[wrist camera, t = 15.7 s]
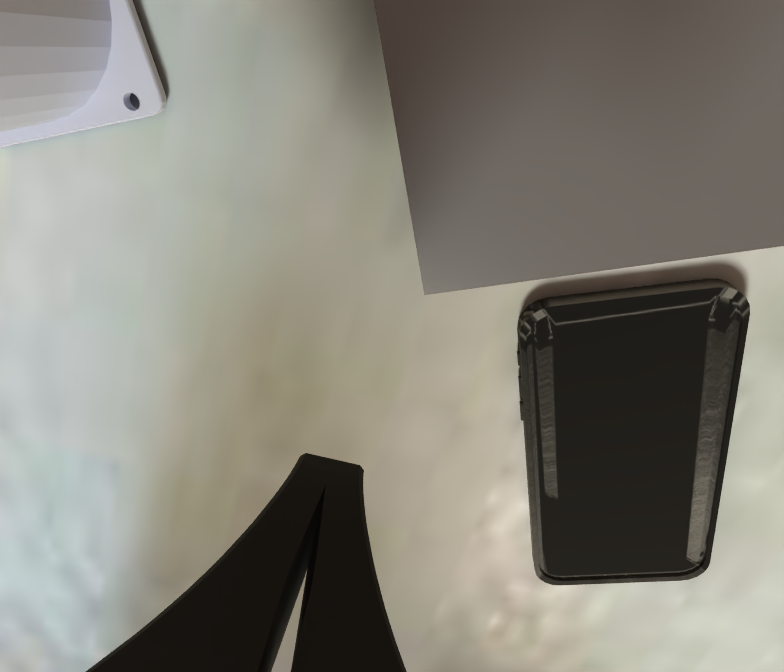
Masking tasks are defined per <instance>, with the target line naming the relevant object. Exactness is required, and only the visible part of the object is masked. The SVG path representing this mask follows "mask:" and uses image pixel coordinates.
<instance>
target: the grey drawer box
mask: <svg viewBox="0 0 784 672" xmlns="http://www.w3.org/2000/svg"><path fill="white" fill-rule="evenodd" d="M374 2H375V8H376V14H377V20H378V26H379V31H380V37H381V43H382V49H383V55H384V61H385V67H386V72H387V78H388V84H389V90H390V96H391V102H392V108H393V113H394V119H395V125H396V131H397V137H398V143H399V148H400V154H401V160H402V166H403V172H404V178H405V184H406V189H407V195H408V201H409V207H410V213H411V219H412V225H413V230H414V236H415V242H416V248H417V254H418V260H419V265H420V271H421V277H422V283H423V289H424V295H428V294H436V293H443V292H450V291H457V290H465V289H472V288H479V287H487V286H494V285H501V284H509V283H516V282H523V281H530V280H538V279H545V278H552V277H560V276H567V275H574V274H582V273H589V272H596V271H603V270H611V269H618V268H625V267H633V266H640V265H647V264H655V263H662V262H669V261H676V260H684V259H691V258H698V257H706V256H713V255H720V254H728V253H735V252H742V251H749V250H757V249H764V248H771V247H779V246H784V0H374Z"/></svg>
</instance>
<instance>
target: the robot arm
mask: <svg viewBox="0 0 784 672" xmlns="http://www.w3.org/2000/svg"><path fill="white" fill-rule="evenodd" d="M131 93H133V94H135V95H136V96H137V97H138V99H139V102H140V106H139V109H136V108H134V107H133V106H132V104H131V103H130V95H131ZM166 103H167V100H166V94H165V92H164V89H163V86H162V83H161V80H160V77H159V75H158V72H157V69H156V66H155V63H154V60H153V57H152V55H151V52H150V49H149V46H148V43H147V40H146V37H145V35H144V32H143V29H142V26H141V23H140V20H139V18H138V15H137V12H136V9H135V6H134V3H133V0H0V147H4V146H9V145H14V144H19V143H24V142H28V141H33V140H38V139H43V138H47V137H52V136H57V135H62V134H67V133H71V132H76V131H81V130H86V129H91V128H95V127H100V126H105V125H110V124H115V123H119V122H124V121H129V120H134V119H138V118H143V117H148V116H153V115H157V114H159V113H161V112H163V110H164V109H165V108H166ZM363 473H364V470H363V469H362V467H361V466H360V465H356V464H352V463H347V462H343V461H339V460H334V459H330V458H325V457H321V456H317V455H312V454H308V453H305V454H303V455H301V456H300V457H299V459H298V461H297V463H296V465H295V467H294V468H293V470H292V471H291V473H290V475H289V476H288V478H287V479H286V480H285V482H284V483H283V485H282V486H281V487H280V489H279V490H278V492H277V493H276V494H275V496H274V497H273V498H272V499H271V501H270V502H269V503H268V504H267V506H266V507H265V508H264V509H263V511H262V512H261V513H260V514H259V515H258V517H257V518H256V519H255V520H254V522H253V523H252V524H251V525H250V526H249V527H248V529H247V530H246V531H245V532H244V533H243V534H242V535H241V536H240V537H239V538H238V539H237V541H236V542H235V543H234V544H233V545H232V546H231V547H230V548H229V549H228V550H227V551H226V552H225V554H224V555H223V556H222V557H221V558H220V559H219V560H218V561H217V562H216V563H215V564H214V565H213V566H212V567H211V568H210V569H209V570H208V571H207V572H206V573H205V574H204V575H203V576H201V577H200V578H199V579H198V580H197V581H196V582H195V583H194V584H193V585H192V586H191V587H190V588H189V589H188V590H187V591H185V592H184V593H183V594H182V595H181V596H180V597H179V598H177V599H176V600H175V601H174V602H173V603H172V604H171V605H169V606H168V607H167V608H166V609H165V610H164V611H163V612H161V613H160V614H159V615H158V616H157V617H156V618H154V619H153V620H152V621H151V622H150V623H148V624H147V625H146V626H145V627H143V628H142V629H141V630H140V631H139V632H137V633H136V634H135V635H134V636H132V637H131V638H130V639H128V640H127V641H126V642H124V643H123V644H122V645H120V646H119V647H118V648H116V649H115V650H114V651H112V652H111V653H110V654H108V655H107V656H106V657H105V658H103V659H102V660H101V661H99V662H98V663H97V664H95V665H94V666H93V667H91V668H90V669H89V670H87V671H86V672H271V670H272V667H273V665H274V662H275V659H276V656H277V653H278V650H279V648H280V645H281V642H282V639H283V636H284V633H285V631H286V628H287V625H288V622H289V619H290V616H291V614H292V611H293V608H294V605H295V602H296V599H297V597H298V594H299V591H300V588H301V585H302V582H303V579H304V577H305V574H306V571H307V575H306V581H305V588H304V594H303V600H302V606H301V613H300V619H299V625H298V631H297V638H296V644H295V650H294V656H293V663H292V669H291V672H406V669H405V667H404V664H403V661H402V658H401V655H400V652H399V650H398V647H397V644H396V641H395V638H394V635H393V632H392V629H391V626H390V623H389V619H388V616H387V613H386V609H385V606H384V602H383V599H382V595H381V591H380V587H379V583H378V579H377V575H376V571H375V567H374V562H373V557H372V552H371V547H370V541H369V536H368V530H367V523H366V516H365V507H364V495H363ZM307 568H308V569H307Z"/></svg>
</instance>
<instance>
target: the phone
mask: <svg viewBox="0 0 784 672" xmlns="http://www.w3.org/2000/svg"><path fill="white" fill-rule="evenodd" d="M749 316H750V305H749V303H748V301H747V299H746V297H745V296H744V295H743V294H742V293H741V292H739V291H738V290H737V289H736V288H734V287H733V286H732V285H731V284H729V283H728V282H726V281H723V280H720V279H702V280H693V281H685V282H676V283H668V284H659V285H651V286H642V287H634V288H625V289H617V290H608V291H600V292H591V293H583V294H574V295H566V296H557V297H549V298H544V299H541V300H537V301H536V302H534V303H532V304H530V305H529V306H528V307H527V308H526V309H525V310H524V311H523V312H522V314H521V316H520V318H519V320H518V328H517V331H518V346H519V351H517V357H518V365H519V366H520V376H518V377H519V392H520V398H522V401H520V413H521V420H523V421H524V436H525V450H526V465H527V480H528V495H529V510H530V525H531V540H532V555H533V561H534V567H535V572H536V575H537V576H538V577H539V578H540V580H542V581H544V582H546V583H549V584H552V585H579V584H605V583H630V582H656V581H681V580H688V579H692V578H694V577H697V576H699V575H700V574H702V573H703V572H704V571H705V570H706V569H707V568H708V566H709V563H710V559H711V552H712V546H713V540H714V534H715V528H716V521H717V515H718V509H719V503H720V496H721V490H722V484H723V478H724V472H725V465H726V459H727V453H728V447H729V440H730V434H731V428H732V422H733V416H734V409H735V403H736V397H737V391H738V384H739V378H740V372H741V366H742V360H743V353H744V347H745V341H746V335H747V328H748V322H749Z"/></svg>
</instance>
